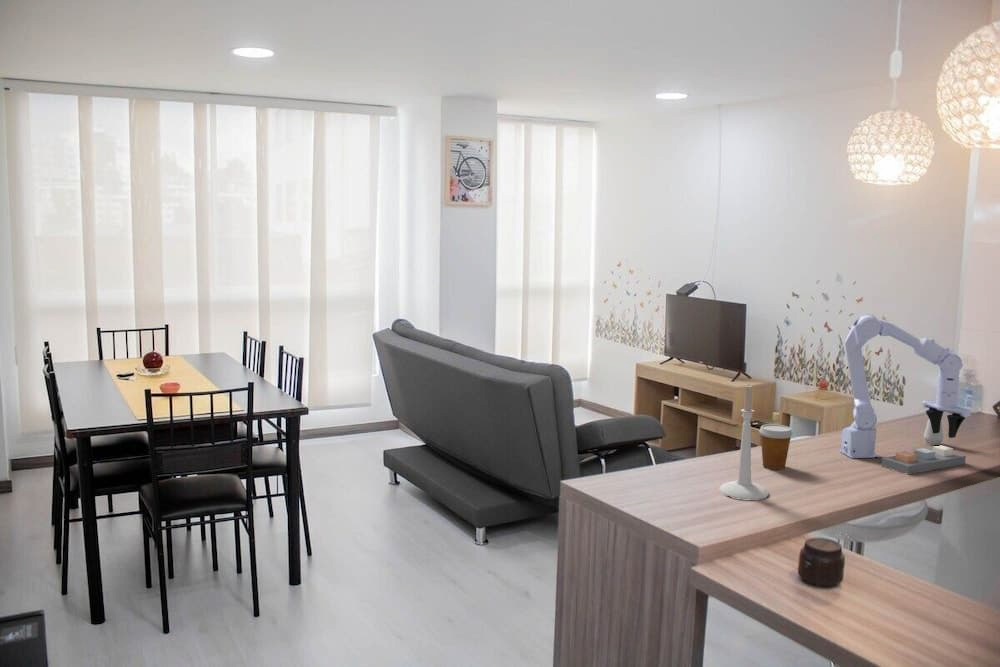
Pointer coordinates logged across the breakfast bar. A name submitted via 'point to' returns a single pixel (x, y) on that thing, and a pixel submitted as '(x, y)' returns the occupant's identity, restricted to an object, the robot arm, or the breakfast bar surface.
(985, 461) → the breakfast bar surface
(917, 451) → the slate key
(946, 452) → the cream key
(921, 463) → the key panel
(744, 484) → the candlestick
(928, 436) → the salt shaker
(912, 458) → the terracotta key
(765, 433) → the disposable coffee cup
